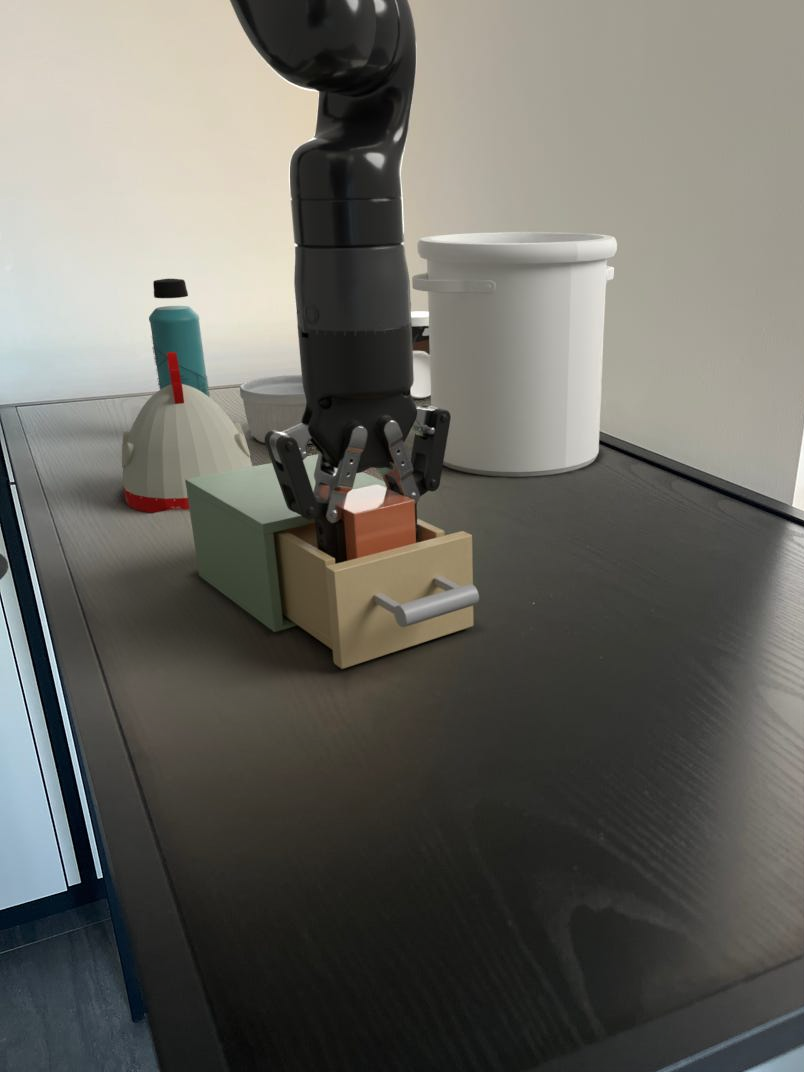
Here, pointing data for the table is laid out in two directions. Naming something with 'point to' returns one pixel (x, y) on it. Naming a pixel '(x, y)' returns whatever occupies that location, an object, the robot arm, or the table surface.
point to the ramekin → (273, 404)
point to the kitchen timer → (177, 445)
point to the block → (377, 521)
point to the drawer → (377, 592)
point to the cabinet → (247, 534)
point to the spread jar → (420, 355)
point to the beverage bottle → (177, 337)
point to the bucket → (517, 347)
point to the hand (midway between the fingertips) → (369, 557)
